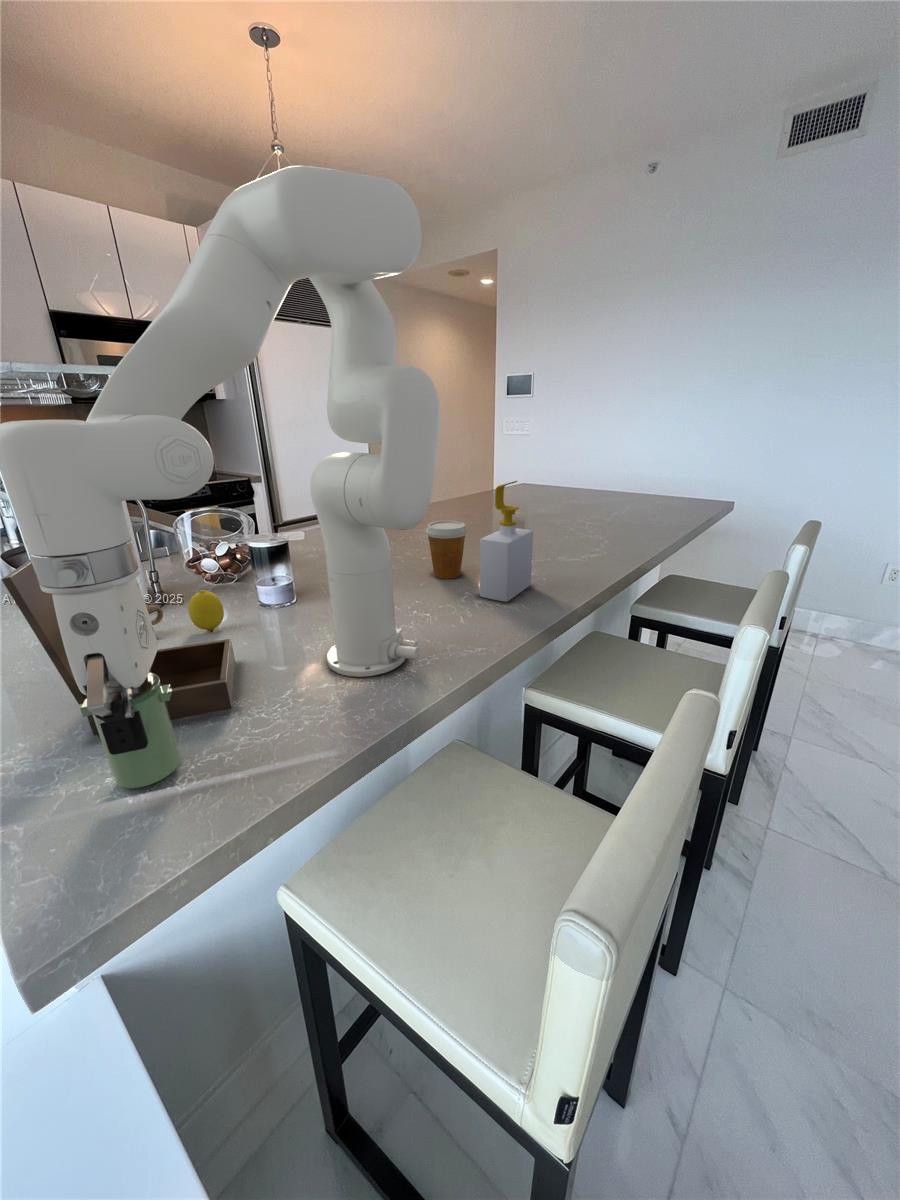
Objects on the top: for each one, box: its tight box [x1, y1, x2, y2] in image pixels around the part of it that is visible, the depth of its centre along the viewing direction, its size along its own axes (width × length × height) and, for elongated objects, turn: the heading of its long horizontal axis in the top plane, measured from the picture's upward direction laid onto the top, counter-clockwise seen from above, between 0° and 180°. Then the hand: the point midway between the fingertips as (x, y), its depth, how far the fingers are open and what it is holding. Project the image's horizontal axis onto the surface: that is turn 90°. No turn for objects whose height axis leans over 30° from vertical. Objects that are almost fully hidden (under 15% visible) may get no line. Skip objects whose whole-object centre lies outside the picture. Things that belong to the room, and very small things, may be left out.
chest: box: [86, 638, 236, 736], centre depth 67 cm, size 16×14×5 cm
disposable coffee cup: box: [425, 520, 468, 579], centre depth 114 cm, size 10×10×12 cm
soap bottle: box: [479, 480, 534, 603], centre depth 101 cm, size 12×7×23 cm, turn 147°
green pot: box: [79, 673, 182, 789], centre depth 51 cm, size 8×6×10 cm
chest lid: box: [1, 559, 87, 706], centre depth 60 cm, size 16×14×1 cm
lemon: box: [188, 589, 225, 633], centre depth 87 cm, size 6×6×8 cm
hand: (137, 728), depth 51 cm, fingers closed on green pot, 6 cm apart
